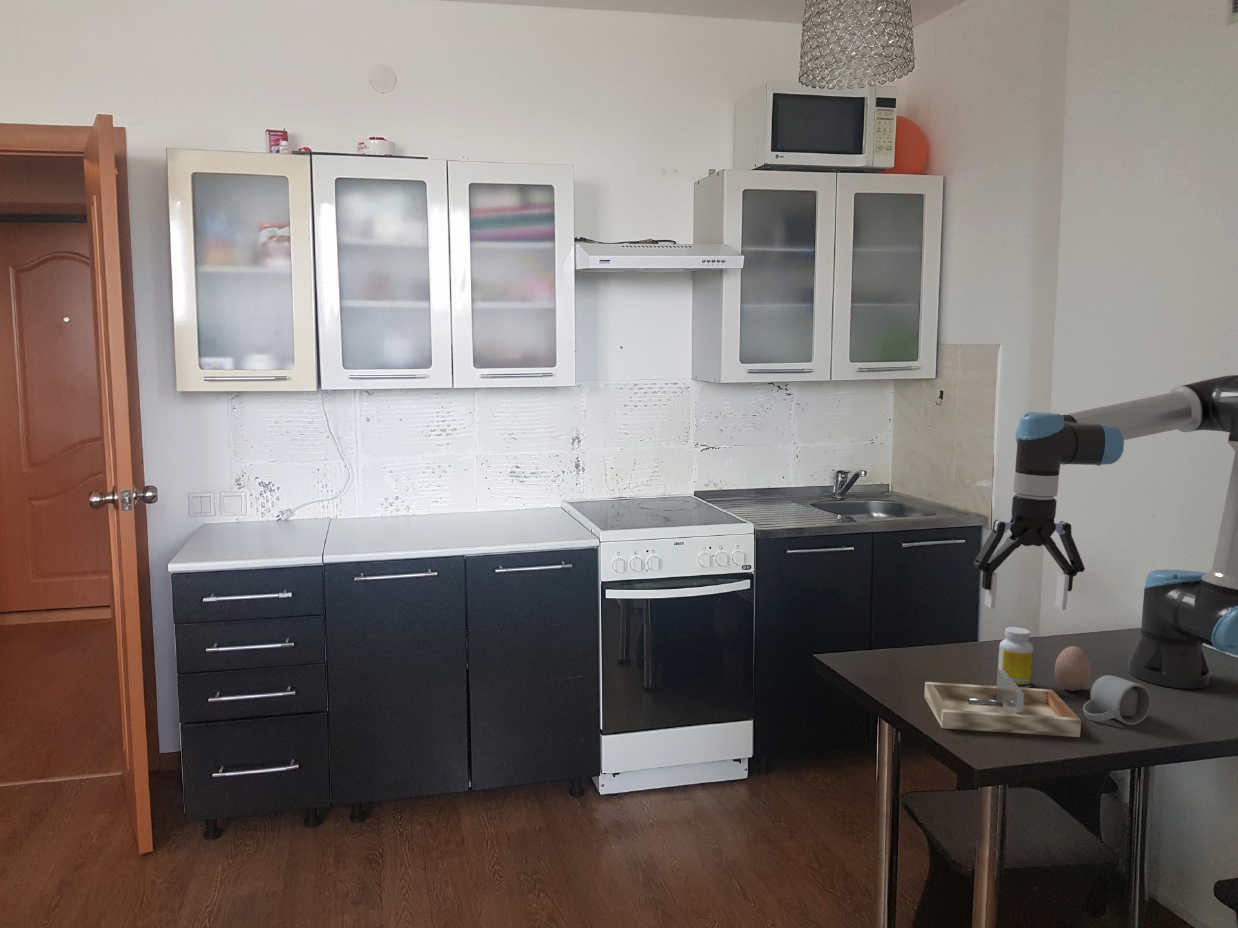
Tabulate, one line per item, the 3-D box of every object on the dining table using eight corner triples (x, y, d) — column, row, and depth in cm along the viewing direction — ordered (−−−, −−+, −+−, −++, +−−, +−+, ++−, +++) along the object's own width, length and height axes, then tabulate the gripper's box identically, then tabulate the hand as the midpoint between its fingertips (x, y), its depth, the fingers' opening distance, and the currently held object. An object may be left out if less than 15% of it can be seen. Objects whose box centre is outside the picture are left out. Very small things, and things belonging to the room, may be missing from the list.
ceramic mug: (1115, 706, 186) (1118, 668, 185) (1150, 722, 179) (1153, 683, 178) (1071, 712, 183) (1074, 674, 182) (1104, 729, 176) (1108, 689, 174)
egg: (1073, 697, 191) (1077, 653, 189) (1045, 686, 196) (1049, 643, 195) (1096, 693, 193) (1100, 649, 192) (1068, 682, 199) (1072, 640, 198)
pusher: (1001, 699, 186) (1004, 670, 185) (1021, 725, 174) (1024, 693, 173) (960, 697, 187) (962, 667, 186) (977, 722, 174) (979, 690, 174)
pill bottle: (1033, 691, 193) (1038, 636, 192) (999, 688, 194) (1004, 633, 193) (1026, 680, 200) (1031, 626, 198) (993, 677, 201) (998, 624, 199)
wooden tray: (1050, 704, 186) (1051, 689, 186) (1079, 736, 171) (1081, 720, 171) (924, 696, 189) (925, 681, 188) (942, 727, 174) (943, 711, 173)
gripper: (1089, 494, 182) (1079, 602, 185) (960, 491, 181) (952, 600, 184) (1111, 500, 174) (1100, 613, 177) (977, 497, 173) (968, 611, 176)
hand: (1025, 607), depth 180 cm, fingers open, 13 cm apart
